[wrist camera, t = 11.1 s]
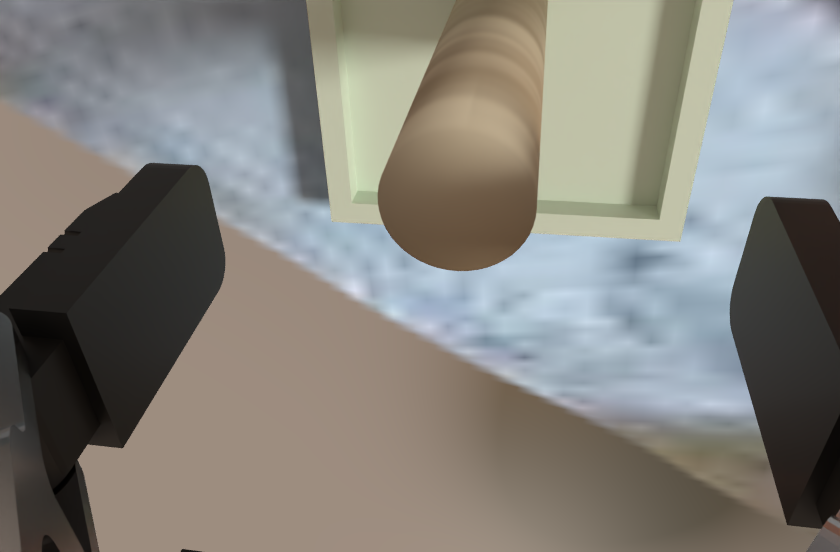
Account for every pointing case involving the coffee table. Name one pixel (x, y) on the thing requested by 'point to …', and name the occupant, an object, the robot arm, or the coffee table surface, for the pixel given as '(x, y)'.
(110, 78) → the coffee table surface
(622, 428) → the coffee table surface
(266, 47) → the coffee table surface
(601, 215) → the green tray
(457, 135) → the birch pin
